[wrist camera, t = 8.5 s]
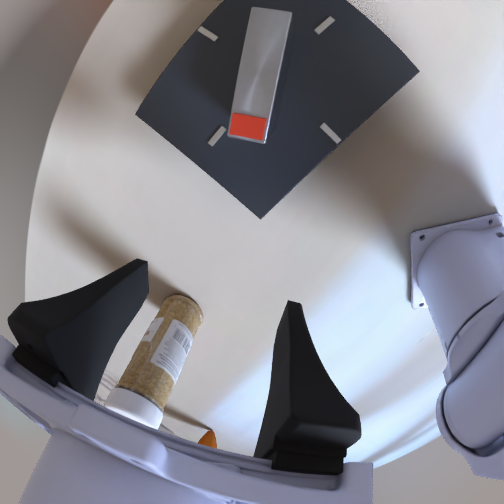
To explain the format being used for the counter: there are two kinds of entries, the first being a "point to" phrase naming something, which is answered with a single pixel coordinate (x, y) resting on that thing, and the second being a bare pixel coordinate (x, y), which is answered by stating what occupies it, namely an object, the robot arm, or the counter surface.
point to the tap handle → (261, 74)
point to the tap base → (292, 102)
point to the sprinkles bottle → (157, 362)
